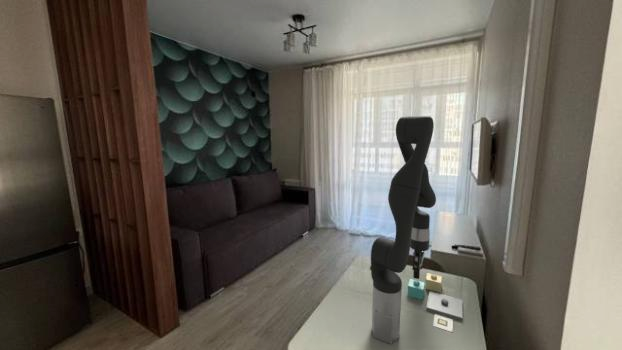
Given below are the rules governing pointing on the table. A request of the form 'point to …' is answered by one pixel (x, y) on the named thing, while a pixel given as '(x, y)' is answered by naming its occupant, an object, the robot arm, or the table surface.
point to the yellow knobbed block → (433, 282)
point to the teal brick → (416, 289)
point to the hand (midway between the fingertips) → (417, 273)
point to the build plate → (445, 305)
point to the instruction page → (443, 322)
